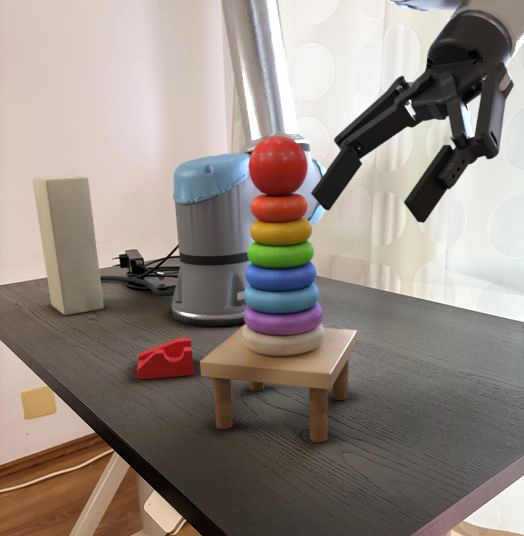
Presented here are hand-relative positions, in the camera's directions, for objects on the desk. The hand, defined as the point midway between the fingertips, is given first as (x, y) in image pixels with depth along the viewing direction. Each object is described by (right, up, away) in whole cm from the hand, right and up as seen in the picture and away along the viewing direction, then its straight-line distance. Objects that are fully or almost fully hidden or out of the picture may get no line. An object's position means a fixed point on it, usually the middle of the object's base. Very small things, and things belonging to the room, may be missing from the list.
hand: (362, 207), depth 57 cm
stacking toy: (-8, -14, -1) cm, 16 cm away
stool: (-8, -20, +1) cm, 21 cm away
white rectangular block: (-41, -7, +41) cm, 58 cm away
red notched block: (-21, -17, +13) cm, 30 cm away
